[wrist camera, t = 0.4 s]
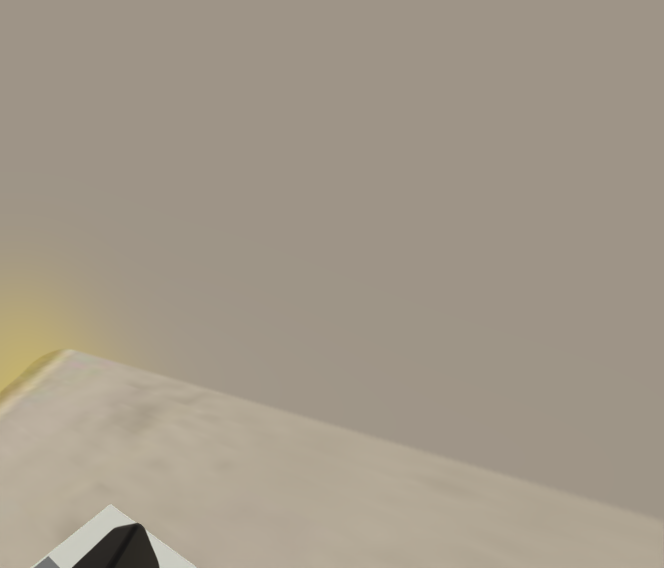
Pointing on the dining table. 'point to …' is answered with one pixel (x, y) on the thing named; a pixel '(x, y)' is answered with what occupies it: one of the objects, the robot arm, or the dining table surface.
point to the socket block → (83, 540)
